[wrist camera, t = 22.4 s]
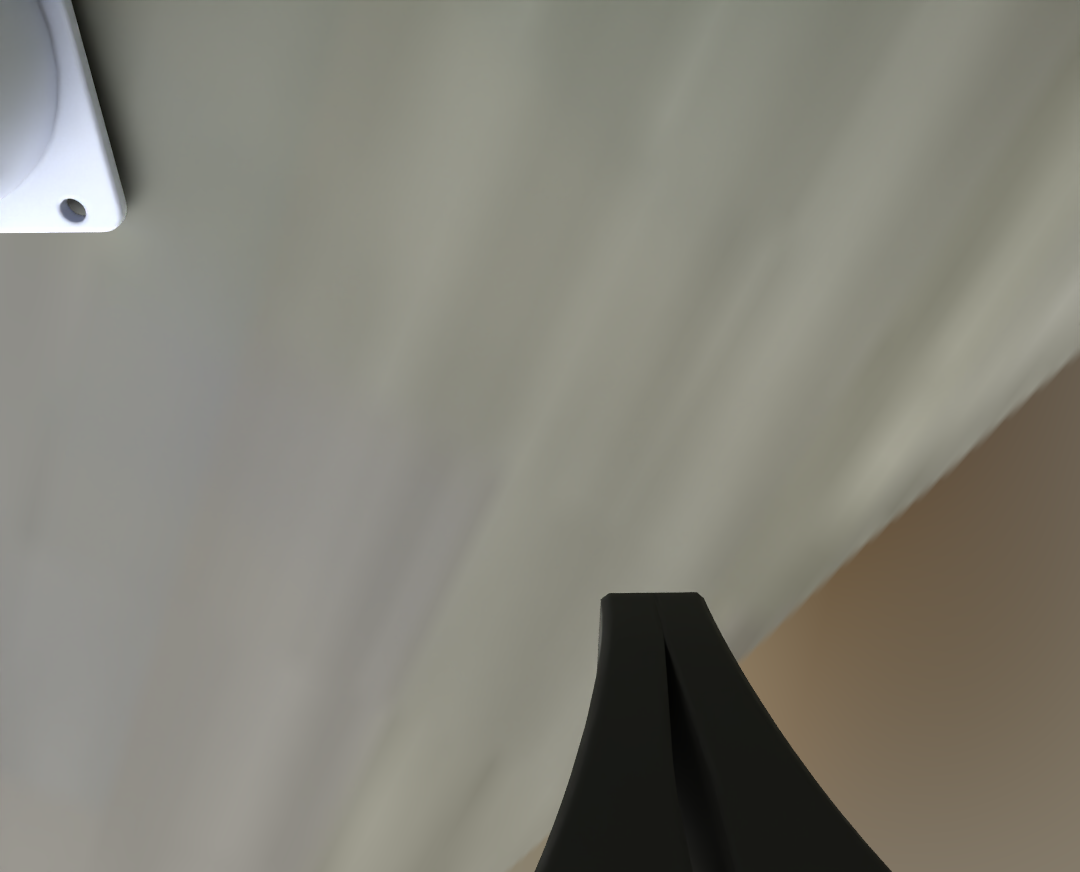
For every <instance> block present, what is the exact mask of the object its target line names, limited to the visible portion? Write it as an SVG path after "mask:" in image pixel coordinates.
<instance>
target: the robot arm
mask: <svg viewBox="0 0 1080 872" xmlns="http://www.w3.org/2000/svg"><path fill="white" fill-rule="evenodd" d="M68 198H70V199H74V200H77V201H78V202H80V203H81V204H82V205H83V206H84V208H85V210H86V215H79V214H76V213H75V212H74V211H72V210H71V209H70V207H69V205H68V204H67V199H68ZM126 214H127V203H126V200H125V196H124V192H123V189H122V185H121V181H120V178H119V174H118V170H117V167H116V163H115V159H114V156H113V152H112V148H111V145H110V141H109V137H108V134H107V130H106V126H105V123H104V119H103V115H102V112H101V108H100V104H99V101H98V97H97V93H96V90H95V86H94V82H93V79H92V75H91V71H90V68H89V64H88V60H87V57H86V53H85V49H84V46H83V42H82V38H81V35H80V31H79V27H78V24H77V20H76V16H75V13H74V9H73V5H72V2H71V0H0V233H42V232H107V231H111V230H114V229H115V228H116V227H118V226H119V225H120V224H121V223H122V222H123V220H124V219H125V217H126ZM535 872H892V871H891V870H890V869H889V868H888V867H887V866H886V865H885V864H884V862H883V861H882V860H881V859H880V858H879V857H878V856H877V855H876V853H875V852H874V851H873V850H872V849H871V848H870V847H869V846H868V844H867V843H866V842H865V841H864V840H863V839H862V837H861V836H860V835H859V834H858V833H857V831H856V830H855V829H854V828H853V827H852V825H851V824H850V823H849V822H848V821H847V819H846V818H845V817H844V816H843V815H842V813H841V812H840V811H839V810H838V809H837V807H836V806H835V805H834V804H833V802H832V801H831V800H830V798H829V797H828V796H827V794H826V793H825V792H824V791H823V789H822V788H821V787H820V786H819V784H818V783H817V781H816V780H815V779H814V777H813V776H812V775H811V773H810V772H809V771H808V769H807V768H806V766H805V765H804V764H803V762H802V761H801V760H800V758H799V757H798V756H797V754H796V753H795V752H794V750H793V749H792V747H791V746H790V744H789V743H788V741H787V740H786V738H785V737H784V736H783V734H782V733H781V731H780V730H779V728H778V727H777V725H776V724H775V722H774V721H773V719H772V718H771V716H770V714H769V713H768V711H767V710H766V708H765V707H764V705H763V704H762V702H761V701H760V699H759V697H758V696H757V694H756V693H755V691H754V690H753V688H752V686H751V685H750V683H749V682H748V680H747V678H746V677H745V675H744V673H743V672H742V670H741V668H740V666H739V665H738V663H737V661H736V659H735V658H734V656H733V654H732V653H731V651H730V649H729V647H728V645H727V644H726V642H725V640H724V638H723V636H722V634H721V633H720V631H719V629H718V627H717V625H716V623H715V621H714V619H713V617H712V615H711V613H710V611H709V609H708V607H707V604H706V602H705V600H704V598H703V597H702V596H700V595H699V594H698V593H697V592H684V593H609V594H608V595H606V596H605V597H603V598H602V599H601V606H600V625H599V644H598V662H597V675H596V680H595V685H594V689H593V694H592V699H591V703H590V708H589V712H588V717H587V721H586V725H585V729H584V732H583V736H582V739H581V742H580V746H579V749H578V753H577V756H576V759H575V763H574V766H573V770H572V773H571V776H570V779H569V782H568V785H567V788H566V791H565V794H564V797H563V800H562V803H561V806H560V809H559V811H558V814H557V817H556V820H555V822H554V825H553V827H552V830H551V833H550V835H549V838H548V841H547V843H546V846H545V848H544V851H543V853H542V856H541V858H540V860H539V863H538V865H537V867H536V870H535Z"/></svg>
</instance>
